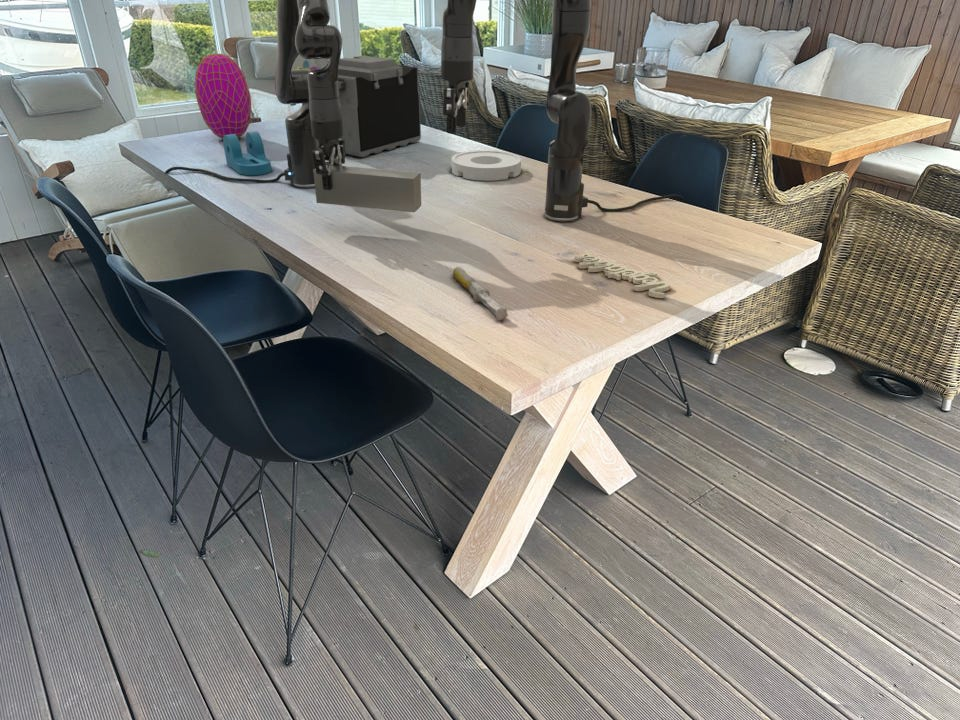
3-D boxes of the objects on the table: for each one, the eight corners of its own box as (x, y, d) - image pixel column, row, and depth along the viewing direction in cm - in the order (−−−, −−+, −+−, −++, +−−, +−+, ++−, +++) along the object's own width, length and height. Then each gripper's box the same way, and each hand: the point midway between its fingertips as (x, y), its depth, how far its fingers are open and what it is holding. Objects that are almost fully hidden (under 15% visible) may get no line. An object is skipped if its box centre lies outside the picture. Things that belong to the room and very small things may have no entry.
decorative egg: (221, 147, 254) (205, 59, 239) (195, 138, 265) (178, 54, 250) (266, 138, 266) (254, 54, 251) (239, 130, 277) (226, 49, 262)
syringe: (449, 274, 155) (449, 263, 153) (465, 272, 156) (464, 260, 154) (490, 323, 135) (491, 310, 133) (508, 319, 136) (508, 307, 134)
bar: (316, 202, 174) (312, 169, 170) (325, 196, 179) (322, 164, 175) (414, 212, 169) (413, 178, 165) (421, 205, 174) (420, 172, 169)
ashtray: (453, 161, 240) (453, 149, 238) (520, 162, 239) (520, 150, 237) (449, 179, 220) (449, 167, 218) (521, 181, 219) (522, 168, 217)
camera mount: (227, 164, 233) (221, 132, 227) (257, 160, 238) (252, 129, 233) (244, 176, 220) (239, 143, 215) (276, 172, 225) (271, 139, 220)
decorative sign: (686, 282, 150) (660, 295, 144) (686, 286, 150) (659, 300, 144) (592, 249, 166) (565, 259, 160) (592, 253, 167) (565, 263, 161)
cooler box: (383, 133, 276) (378, 52, 261) (425, 141, 265) (422, 56, 250) (314, 150, 251) (304, 61, 235) (358, 160, 240) (350, 67, 224)
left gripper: (324, 110, 172) (331, 177, 181) (298, 121, 160) (306, 193, 169) (352, 112, 171) (357, 179, 179) (327, 124, 159) (334, 195, 167)
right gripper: (464, 62, 152) (463, 137, 161) (480, 55, 164) (478, 125, 173) (432, 60, 154) (432, 134, 162) (450, 53, 166) (449, 123, 174)
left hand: (332, 185), depth 174 cm, fingers closed on bar, 5 cm apart
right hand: (456, 129), depth 167 cm, fingers open, 8 cm apart
